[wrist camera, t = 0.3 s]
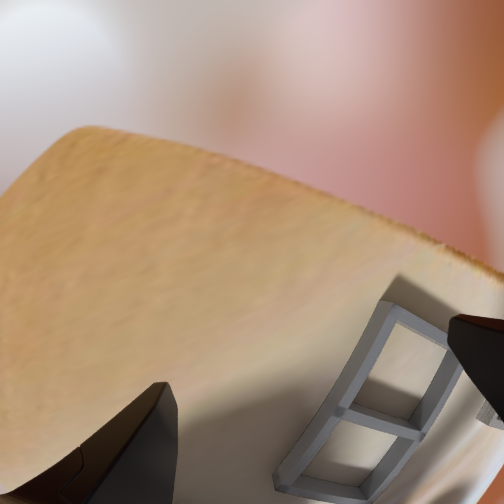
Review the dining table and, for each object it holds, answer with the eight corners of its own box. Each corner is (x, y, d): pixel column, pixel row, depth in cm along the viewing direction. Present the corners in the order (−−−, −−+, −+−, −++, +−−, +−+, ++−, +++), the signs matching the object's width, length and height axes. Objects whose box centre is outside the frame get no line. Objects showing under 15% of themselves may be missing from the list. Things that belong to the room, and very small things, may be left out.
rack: (360, 494, 23) (368, 507, 20) (272, 475, 22) (275, 490, 20) (457, 344, 24) (472, 348, 21) (379, 299, 24) (393, 302, 21)
